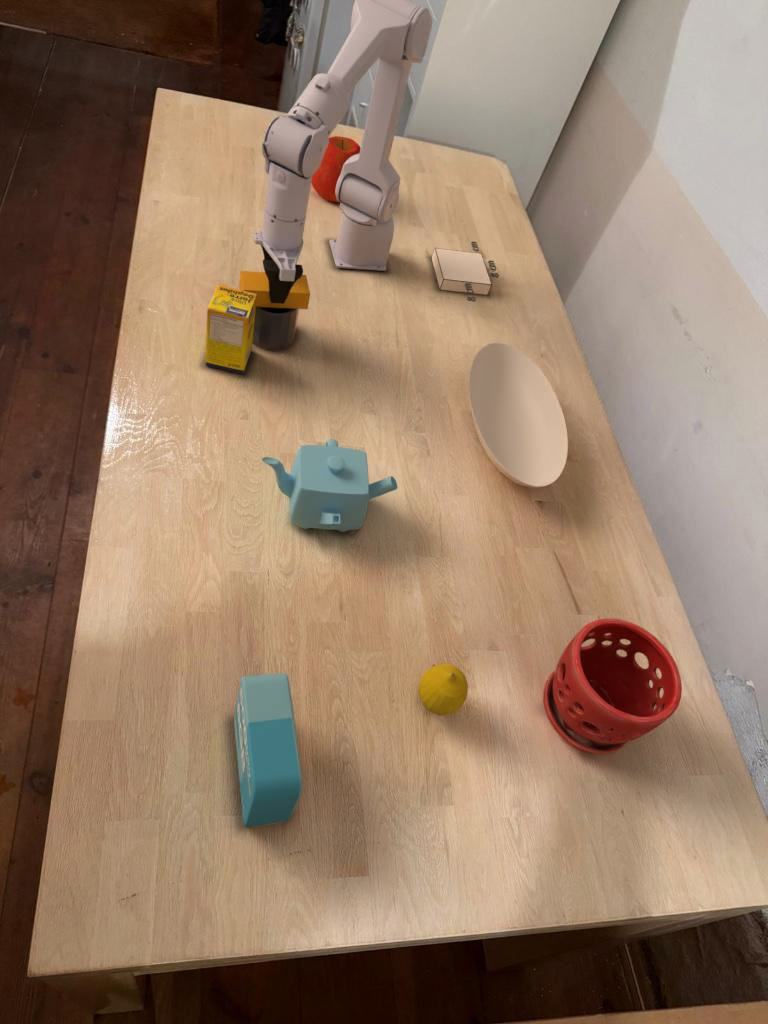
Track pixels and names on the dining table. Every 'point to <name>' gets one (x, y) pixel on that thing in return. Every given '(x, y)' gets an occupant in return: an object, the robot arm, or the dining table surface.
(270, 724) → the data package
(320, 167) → the apple
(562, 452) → the bowl
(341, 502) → the teapot
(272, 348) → the cup
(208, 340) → the supplement box
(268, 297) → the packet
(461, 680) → the fruit
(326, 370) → the dining table surface
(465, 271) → the container
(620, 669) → the flower pot
